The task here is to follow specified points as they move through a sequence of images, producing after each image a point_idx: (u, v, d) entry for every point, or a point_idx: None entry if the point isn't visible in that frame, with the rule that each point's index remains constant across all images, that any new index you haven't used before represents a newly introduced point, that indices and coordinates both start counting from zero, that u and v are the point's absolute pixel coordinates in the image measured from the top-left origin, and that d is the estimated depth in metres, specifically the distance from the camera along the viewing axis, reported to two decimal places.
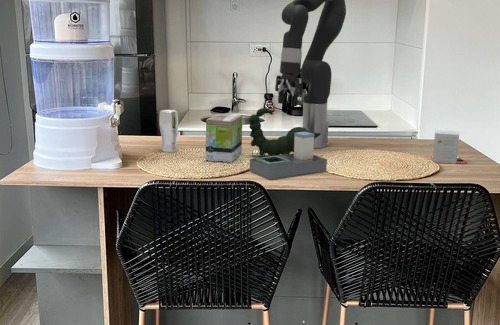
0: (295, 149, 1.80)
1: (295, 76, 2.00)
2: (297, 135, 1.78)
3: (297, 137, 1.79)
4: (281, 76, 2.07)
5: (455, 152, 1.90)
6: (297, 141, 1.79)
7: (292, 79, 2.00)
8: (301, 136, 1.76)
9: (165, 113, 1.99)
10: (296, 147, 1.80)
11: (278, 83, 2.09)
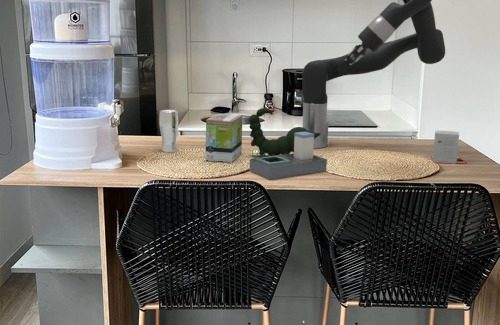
0: (295, 149, 1.80)
1: (363, 45, 1.70)
2: (297, 135, 1.78)
3: (297, 137, 1.79)
4: None
5: (455, 152, 1.90)
6: (297, 141, 1.79)
7: None
8: (301, 136, 1.76)
9: (165, 113, 1.99)
10: (296, 147, 1.80)
11: None
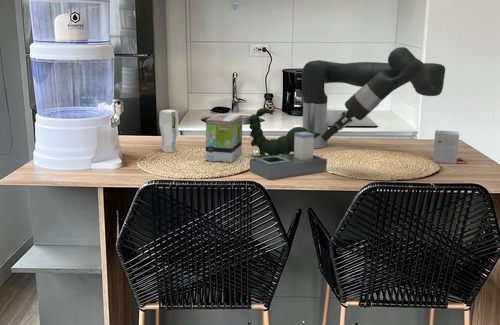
0: (295, 149, 1.80)
1: (349, 115, 1.68)
2: (297, 135, 1.78)
3: (297, 137, 1.79)
4: None
5: (455, 152, 1.90)
6: (297, 141, 1.79)
7: (344, 115, 1.69)
8: (301, 136, 1.76)
9: (165, 113, 1.99)
10: (296, 147, 1.80)
11: None
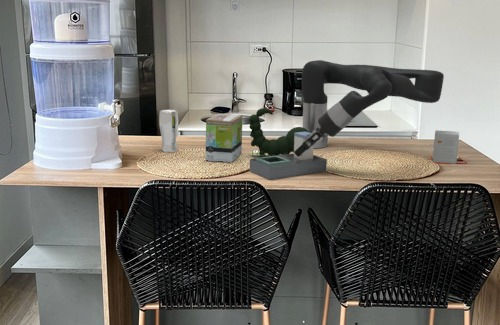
0: (295, 149, 1.80)
1: (321, 131, 1.73)
2: (297, 135, 1.78)
3: (297, 137, 1.79)
4: None
5: (455, 152, 1.90)
6: (297, 141, 1.79)
7: (316, 131, 1.74)
8: (301, 136, 1.76)
9: (165, 113, 1.99)
10: (296, 147, 1.80)
11: None
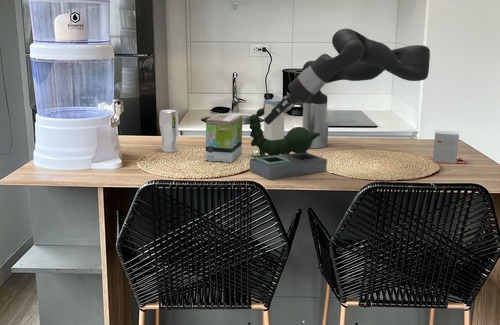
0: (265, 117, 1.71)
1: (291, 97, 1.64)
2: (267, 102, 1.69)
3: (267, 104, 1.70)
4: None
5: (455, 152, 1.90)
6: (267, 109, 1.70)
7: (286, 97, 1.65)
8: (271, 103, 1.68)
9: (165, 113, 1.99)
10: (266, 115, 1.71)
11: None
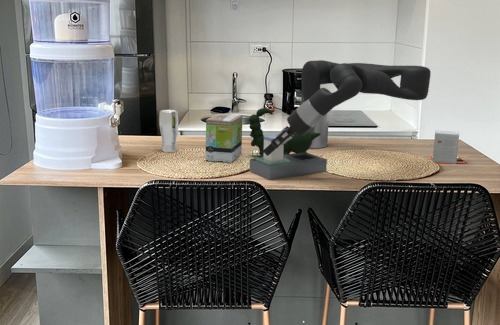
0: (264, 153, 1.74)
1: (290, 130, 1.67)
2: (266, 138, 1.72)
3: (266, 140, 1.72)
4: None
5: (455, 152, 1.90)
6: (267, 145, 1.73)
7: (285, 130, 1.68)
8: (270, 140, 1.70)
9: (165, 113, 1.99)
10: None
11: None
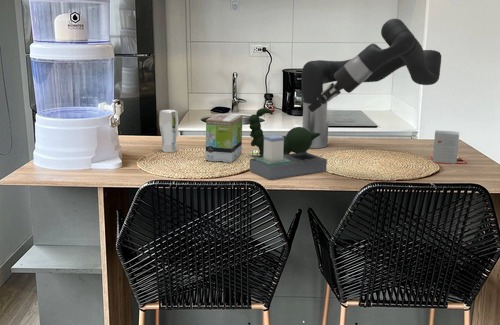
0: (264, 153, 1.74)
1: (337, 86, 1.63)
2: (266, 138, 1.72)
3: (266, 140, 1.72)
4: None
5: (455, 152, 1.90)
6: (267, 145, 1.73)
7: (332, 86, 1.64)
8: (270, 140, 1.70)
9: (165, 113, 1.99)
10: (265, 151, 1.74)
11: None
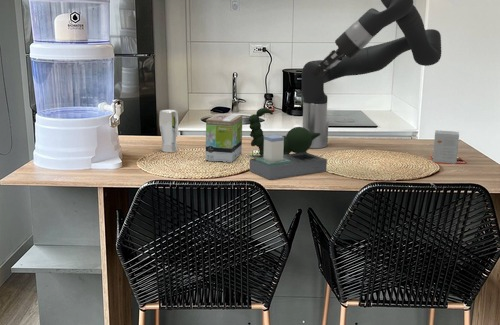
0: (264, 153, 1.74)
1: (339, 52, 1.66)
2: (266, 138, 1.72)
3: (266, 140, 1.72)
4: None
5: (455, 152, 1.90)
6: (267, 145, 1.73)
7: None
8: (270, 140, 1.70)
9: (165, 113, 1.99)
10: (265, 151, 1.74)
11: None
